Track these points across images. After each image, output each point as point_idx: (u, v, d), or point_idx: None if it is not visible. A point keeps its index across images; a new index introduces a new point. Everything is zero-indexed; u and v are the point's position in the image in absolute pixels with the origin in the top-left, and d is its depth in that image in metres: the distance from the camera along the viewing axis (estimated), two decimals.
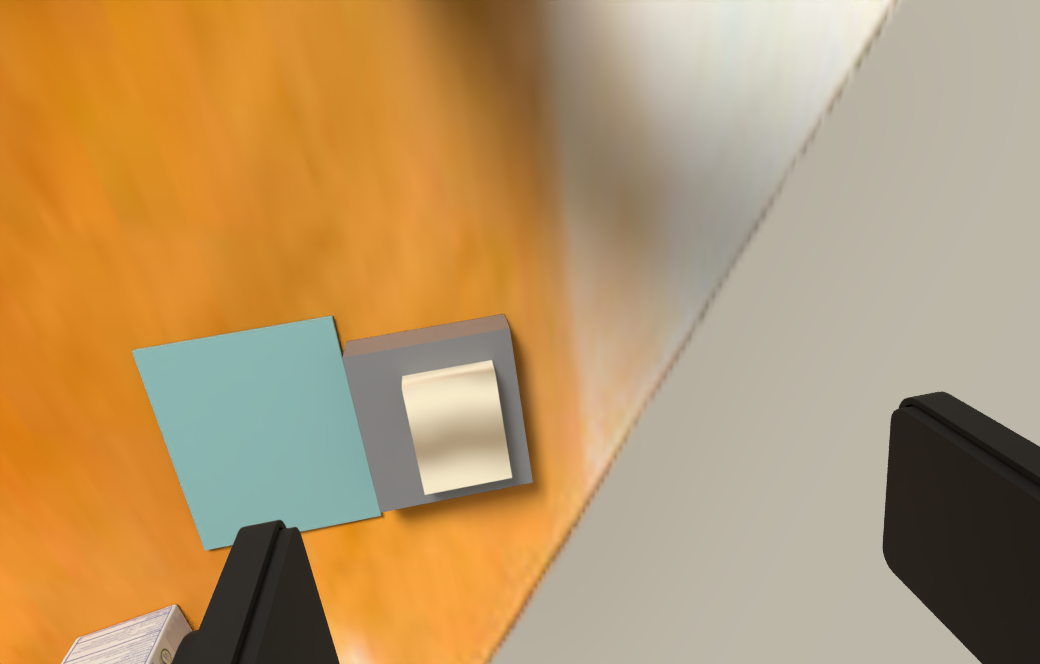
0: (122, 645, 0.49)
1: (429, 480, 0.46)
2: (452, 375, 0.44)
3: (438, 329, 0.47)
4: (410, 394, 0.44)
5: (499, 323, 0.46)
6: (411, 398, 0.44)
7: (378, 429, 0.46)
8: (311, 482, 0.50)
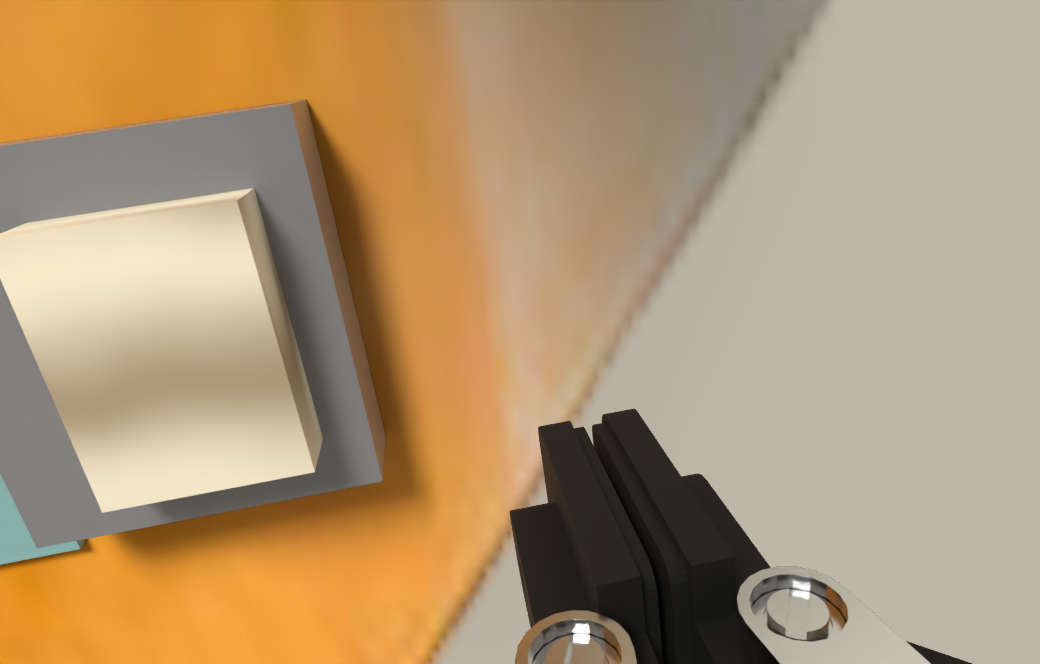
0: None
1: (107, 478, 0.19)
2: (133, 213, 0.17)
3: None
4: (12, 257, 0.17)
5: (278, 104, 0.19)
6: (17, 268, 0.17)
7: None
8: None
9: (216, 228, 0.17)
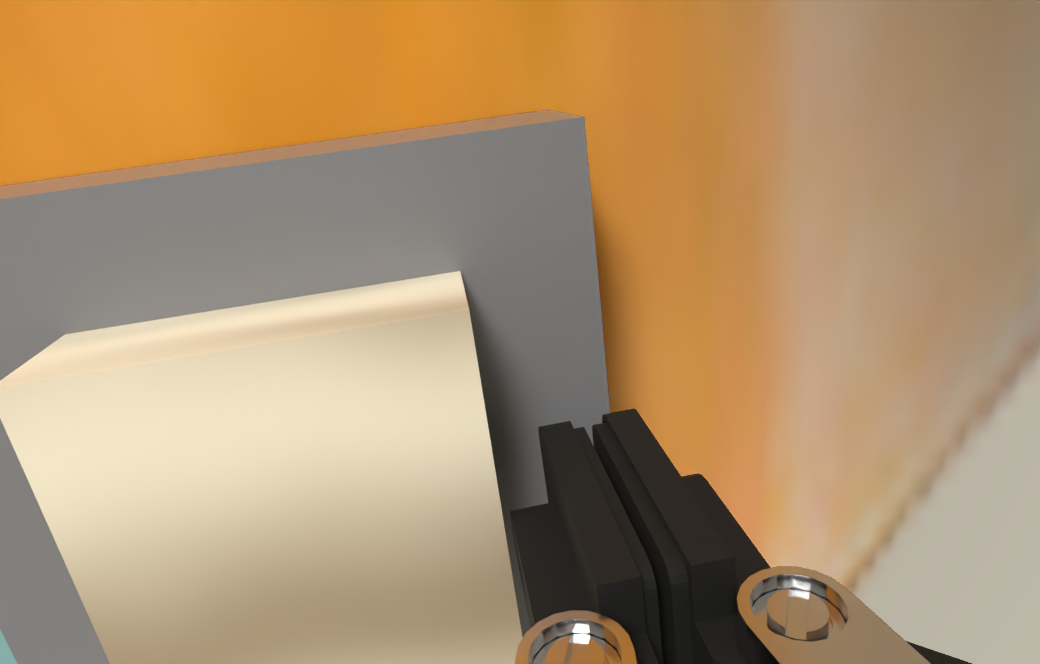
0: None
1: None
2: (267, 328, 0.09)
3: (294, 148, 0.12)
4: (42, 419, 0.09)
5: (535, 117, 0.11)
6: (51, 438, 0.09)
7: (39, 545, 0.11)
8: None
9: (426, 359, 0.09)
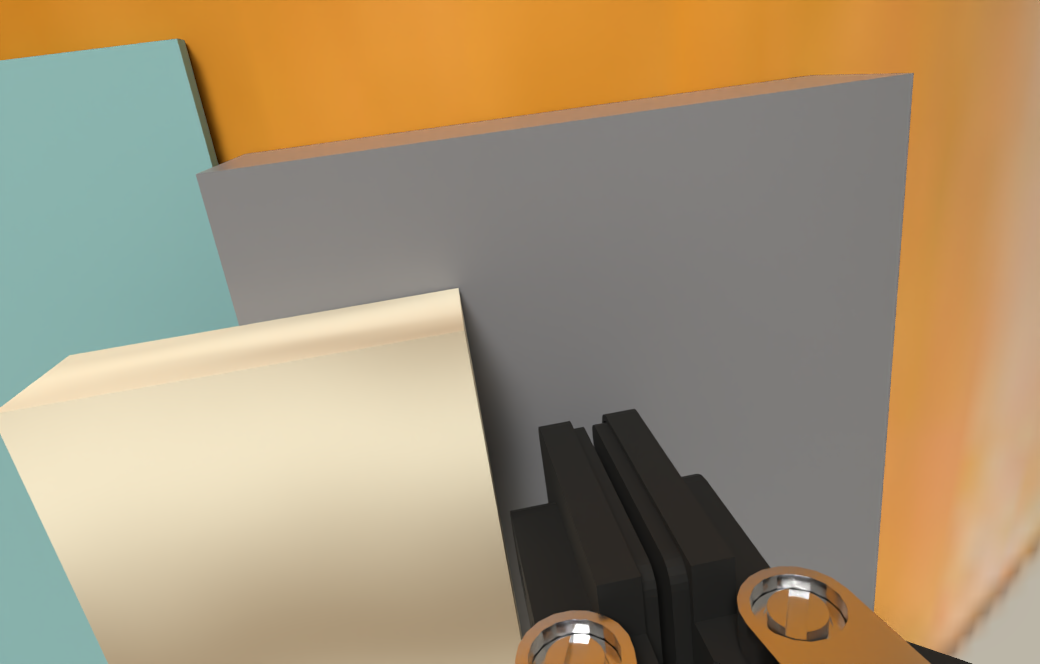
0: None
1: None
2: (265, 350, 0.09)
3: (592, 108, 0.12)
4: (44, 442, 0.09)
5: (835, 78, 0.12)
6: (53, 461, 0.09)
7: None
8: None
9: (422, 380, 0.09)
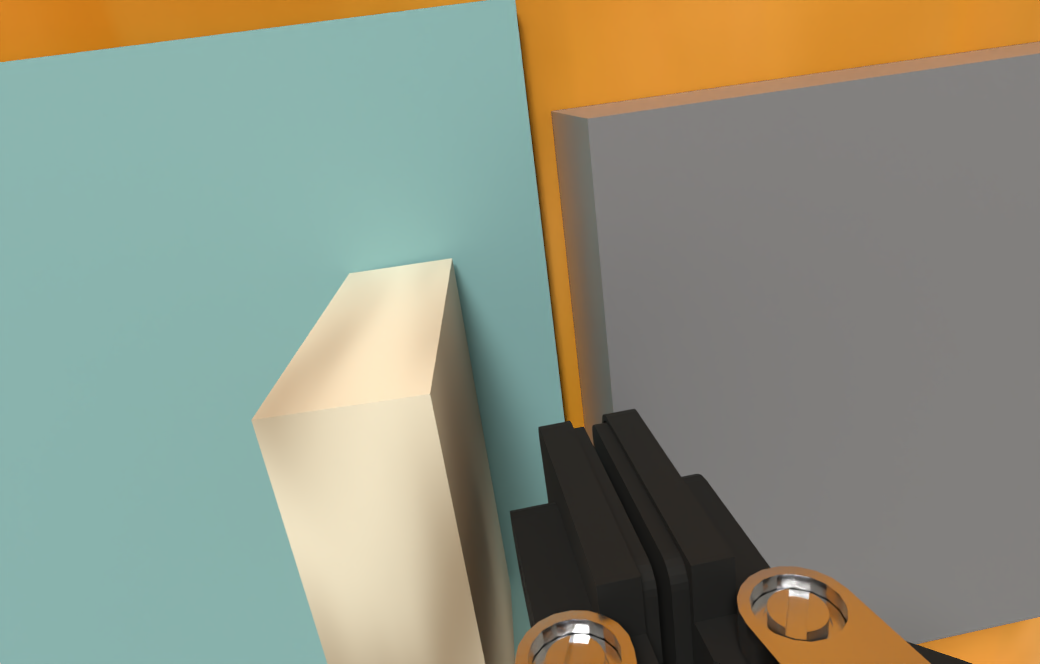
0: None
1: None
2: (350, 327, 0.10)
3: (891, 65, 0.13)
4: None
5: None
6: None
7: (679, 429, 0.12)
8: None
9: None
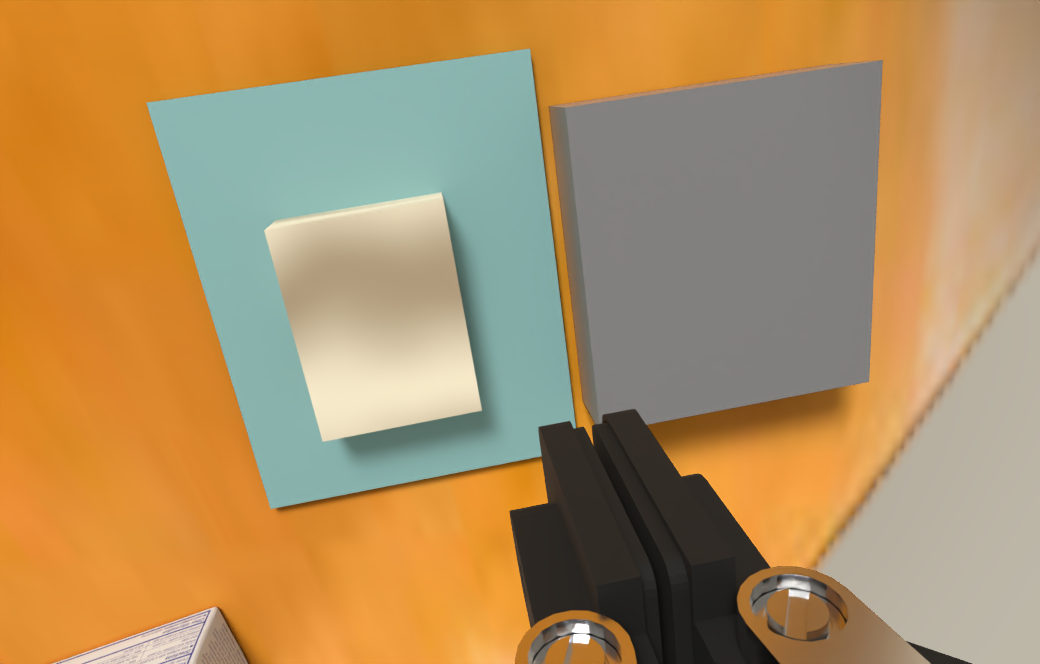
0: None
1: None
2: (350, 210, 0.24)
3: (724, 81, 0.25)
4: None
5: (846, 64, 0.24)
6: None
7: (616, 266, 0.24)
8: None
9: None
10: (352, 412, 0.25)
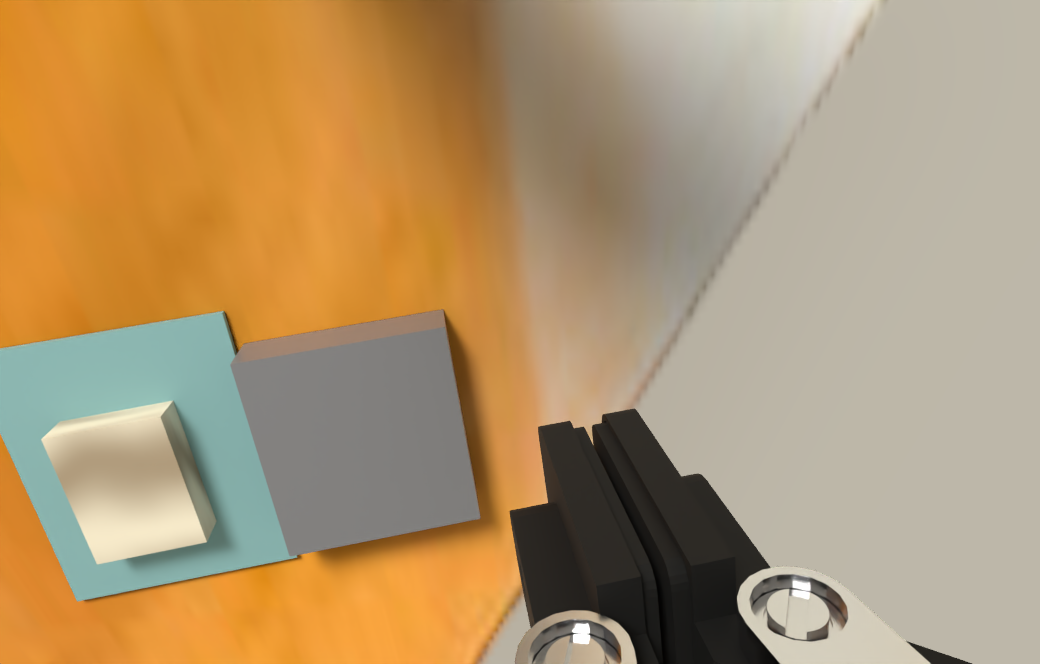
0: None
1: None
2: (106, 417, 0.37)
3: (358, 328, 0.37)
4: None
5: (434, 321, 0.37)
6: None
7: (281, 454, 0.37)
8: None
9: None
10: (115, 545, 0.38)
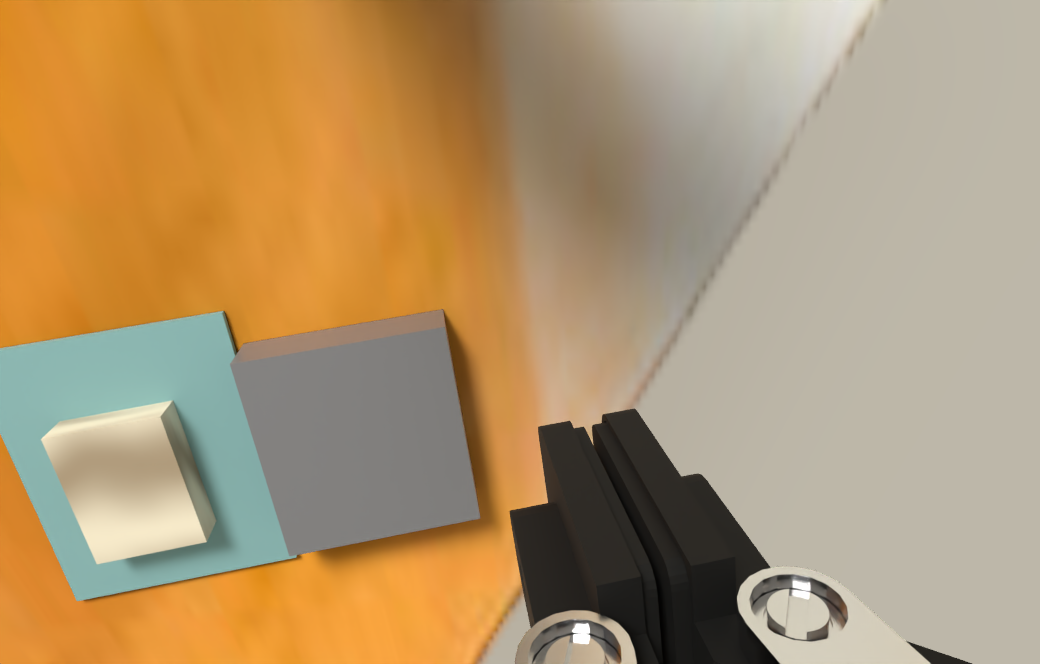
0: None
1: None
2: (106, 416, 0.37)
3: (358, 328, 0.37)
4: None
5: (434, 321, 0.37)
6: None
7: (281, 454, 0.37)
8: None
9: None
10: (115, 545, 0.38)
